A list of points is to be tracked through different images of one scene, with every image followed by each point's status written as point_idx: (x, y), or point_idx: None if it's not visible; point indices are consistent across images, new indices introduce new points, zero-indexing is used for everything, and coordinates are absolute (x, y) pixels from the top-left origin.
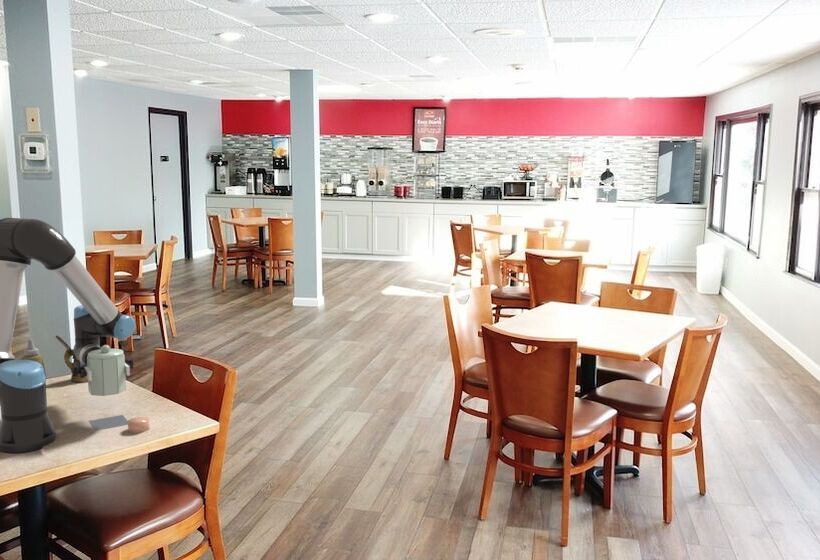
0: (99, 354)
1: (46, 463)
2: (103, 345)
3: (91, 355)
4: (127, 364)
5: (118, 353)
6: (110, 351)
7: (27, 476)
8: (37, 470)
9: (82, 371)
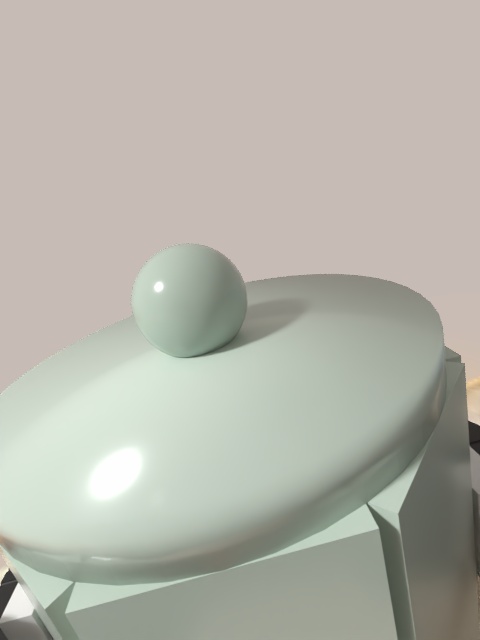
0: (275, 300)
1: (468, 420)
2: (197, 244)
3: (351, 279)
4: (5, 603)
5: (116, 326)
6: (138, 365)
7: (475, 379)
8: (469, 395)
9: (475, 425)
